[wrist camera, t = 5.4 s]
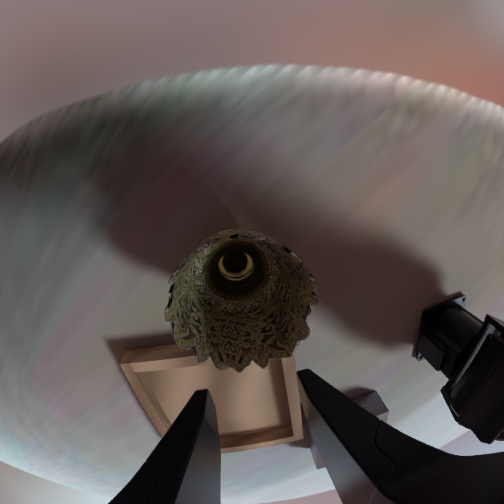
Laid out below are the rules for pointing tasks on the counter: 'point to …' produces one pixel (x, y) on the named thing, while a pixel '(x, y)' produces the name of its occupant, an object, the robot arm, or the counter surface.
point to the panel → (369, 403)
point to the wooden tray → (219, 395)
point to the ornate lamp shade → (240, 301)
